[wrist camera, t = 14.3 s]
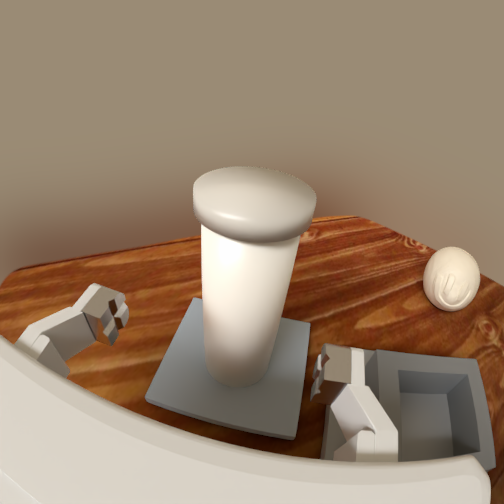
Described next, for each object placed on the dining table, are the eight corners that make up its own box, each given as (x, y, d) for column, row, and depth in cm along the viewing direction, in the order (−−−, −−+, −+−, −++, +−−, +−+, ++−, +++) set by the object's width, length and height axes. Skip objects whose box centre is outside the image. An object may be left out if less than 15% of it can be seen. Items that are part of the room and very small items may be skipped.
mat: (308, 329, 24) (310, 323, 23) (292, 440, 16) (295, 436, 15) (194, 303, 25) (194, 297, 24) (146, 401, 17) (144, 397, 17)
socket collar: (462, 366, 20) (486, 339, 18) (479, 502, 9) (515, 487, 7) (330, 351, 22) (345, 320, 20) (308, 525, 11) (331, 524, 8)
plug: (278, 340, 22) (317, 177, 14) (265, 399, 18) (315, 231, 10) (212, 325, 22) (216, 160, 15) (190, 380, 18) (172, 204, 10)
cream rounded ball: (408, 310, 26) (437, 258, 22) (417, 274, 31) (439, 228, 28) (459, 335, 24) (493, 287, 20) (461, 296, 29) (486, 252, 25)
